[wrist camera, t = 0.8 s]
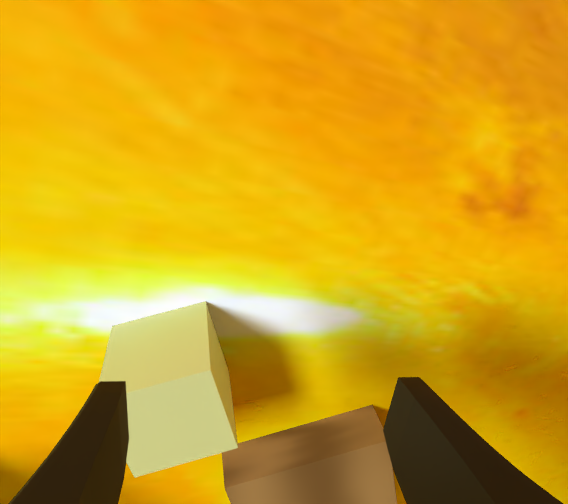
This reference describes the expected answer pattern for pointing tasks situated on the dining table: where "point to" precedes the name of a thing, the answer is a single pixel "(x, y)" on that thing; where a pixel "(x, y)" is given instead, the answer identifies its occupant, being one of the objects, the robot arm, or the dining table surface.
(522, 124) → the dining table surface
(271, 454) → the walnut pedestal
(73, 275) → the dining table surface
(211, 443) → the pale yellow block
